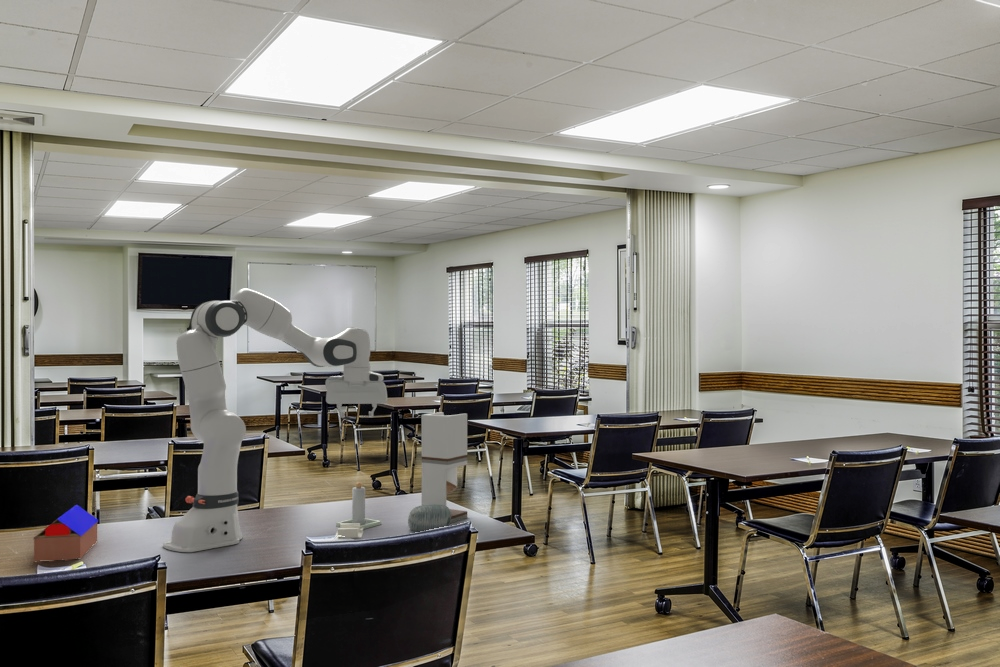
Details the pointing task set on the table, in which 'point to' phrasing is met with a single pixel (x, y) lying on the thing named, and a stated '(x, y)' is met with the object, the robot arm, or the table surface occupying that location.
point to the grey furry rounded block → (429, 517)
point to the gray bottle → (358, 504)
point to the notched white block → (442, 457)
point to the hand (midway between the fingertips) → (356, 417)
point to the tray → (370, 521)
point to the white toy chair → (350, 530)
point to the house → (67, 536)
